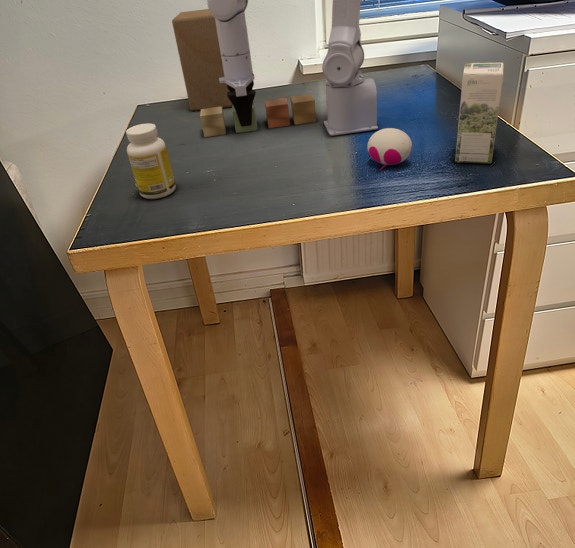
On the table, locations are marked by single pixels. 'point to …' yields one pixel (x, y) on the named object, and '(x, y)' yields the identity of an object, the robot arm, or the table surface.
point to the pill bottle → (150, 162)
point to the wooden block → (200, 59)
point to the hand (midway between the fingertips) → (245, 121)
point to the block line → (274, 111)
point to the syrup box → (479, 112)
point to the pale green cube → (244, 128)
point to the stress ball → (389, 146)
